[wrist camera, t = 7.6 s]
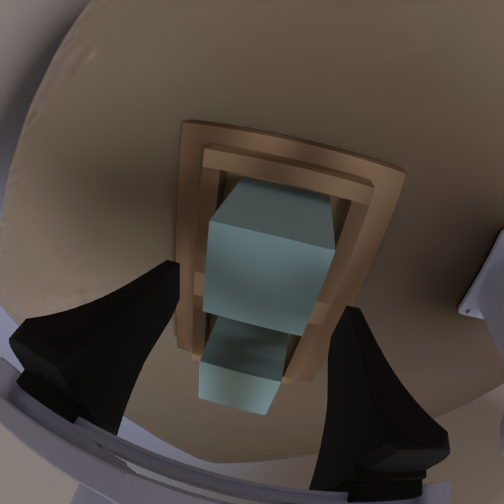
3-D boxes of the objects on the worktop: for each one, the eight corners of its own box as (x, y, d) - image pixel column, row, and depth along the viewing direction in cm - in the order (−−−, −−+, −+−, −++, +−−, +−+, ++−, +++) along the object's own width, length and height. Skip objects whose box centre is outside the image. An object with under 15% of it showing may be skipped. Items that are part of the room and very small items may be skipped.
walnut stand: (401, 168, 15) (448, 218, 9) (311, 371, 26) (305, 437, 20) (190, 119, 16) (122, 143, 10) (182, 338, 27) (153, 397, 21)
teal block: (329, 196, 16) (335, 250, 11) (307, 267, 19) (302, 336, 14) (243, 176, 16) (209, 220, 11) (232, 248, 19) (202, 311, 14)
